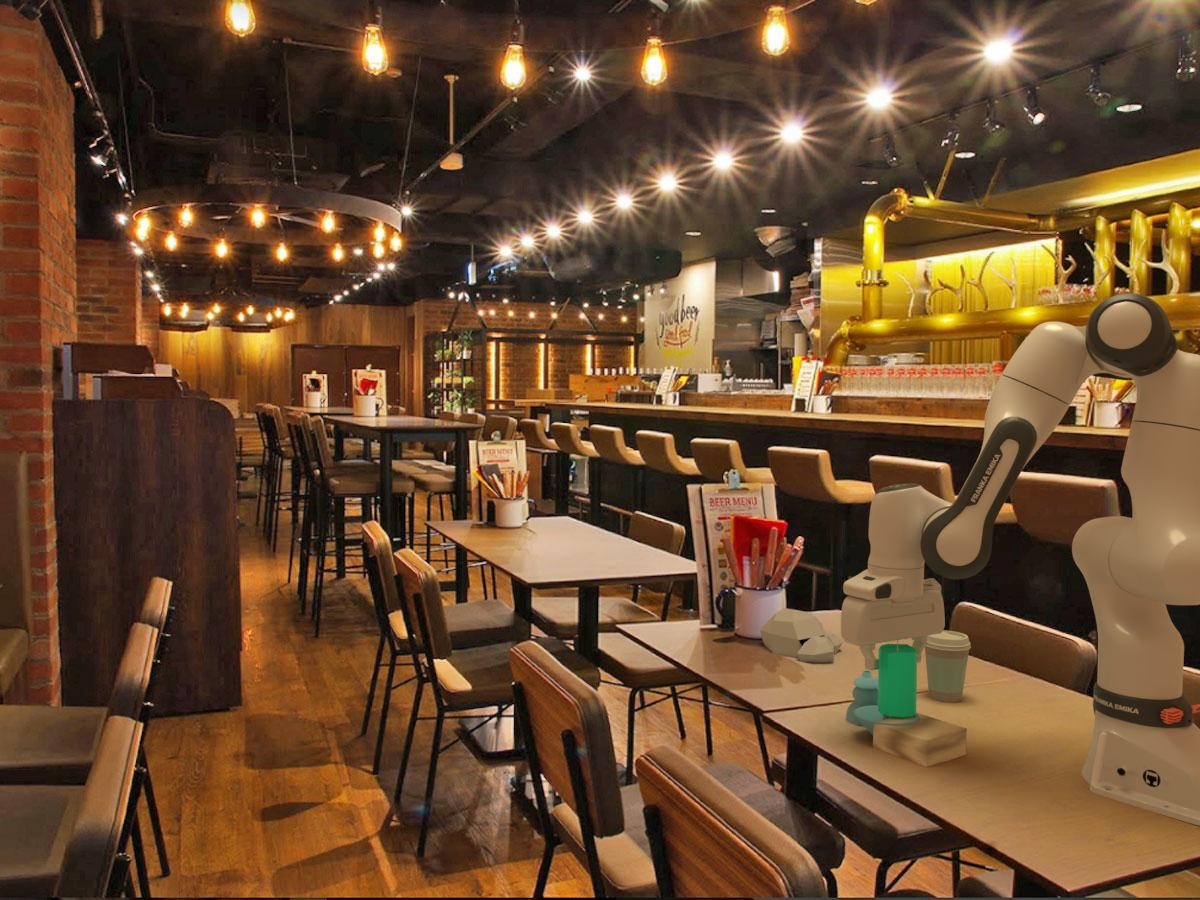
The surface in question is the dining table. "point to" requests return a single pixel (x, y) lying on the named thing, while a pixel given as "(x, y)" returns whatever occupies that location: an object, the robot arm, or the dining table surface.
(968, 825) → the dining table surface
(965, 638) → the coffee cup
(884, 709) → the candle
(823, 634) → the rock
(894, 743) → the beech box
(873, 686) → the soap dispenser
